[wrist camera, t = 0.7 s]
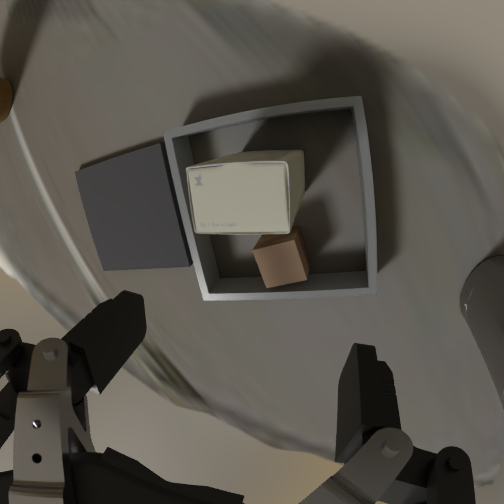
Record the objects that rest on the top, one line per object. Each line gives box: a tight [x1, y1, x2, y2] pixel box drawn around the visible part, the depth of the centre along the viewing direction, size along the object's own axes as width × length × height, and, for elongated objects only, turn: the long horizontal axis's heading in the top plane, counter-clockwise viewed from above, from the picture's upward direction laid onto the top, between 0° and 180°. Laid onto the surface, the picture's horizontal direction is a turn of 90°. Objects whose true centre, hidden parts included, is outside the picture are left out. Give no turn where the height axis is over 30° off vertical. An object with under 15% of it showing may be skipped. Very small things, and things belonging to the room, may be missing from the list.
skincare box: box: [186, 150, 305, 234], centre depth 23 cm, size 6×4×12 cm
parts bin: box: [163, 96, 377, 300], centre depth 27 cm, size 18×18×4 cm
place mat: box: [75, 143, 193, 271], centre depth 34 cm, size 14×14×1 cm
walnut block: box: [252, 226, 310, 288], centre depth 29 cm, size 4×4×4 cm
